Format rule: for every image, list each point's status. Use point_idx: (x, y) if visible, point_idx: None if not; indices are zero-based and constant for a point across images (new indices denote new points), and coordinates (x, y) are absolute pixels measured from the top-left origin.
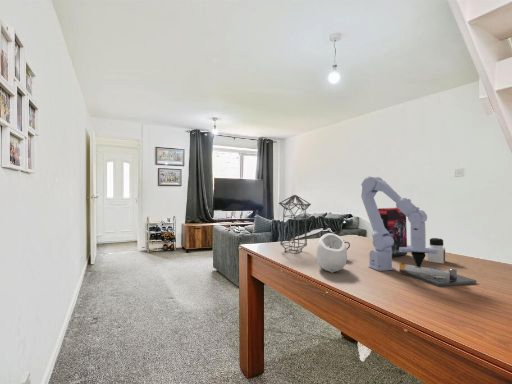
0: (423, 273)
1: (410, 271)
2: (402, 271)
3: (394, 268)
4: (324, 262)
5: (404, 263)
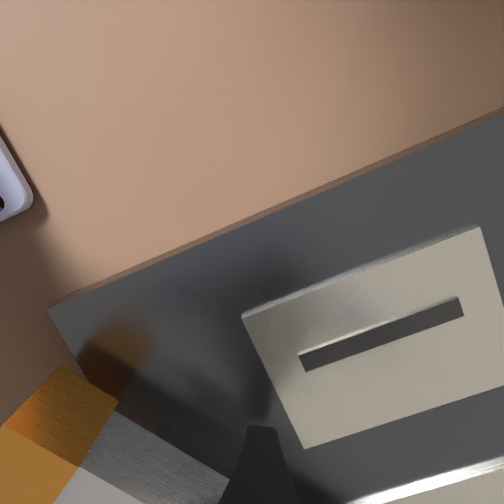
0: (305, 461)
1: (171, 396)
2: (85, 355)
3: (3, 192)
4: None
5: (41, 450)
